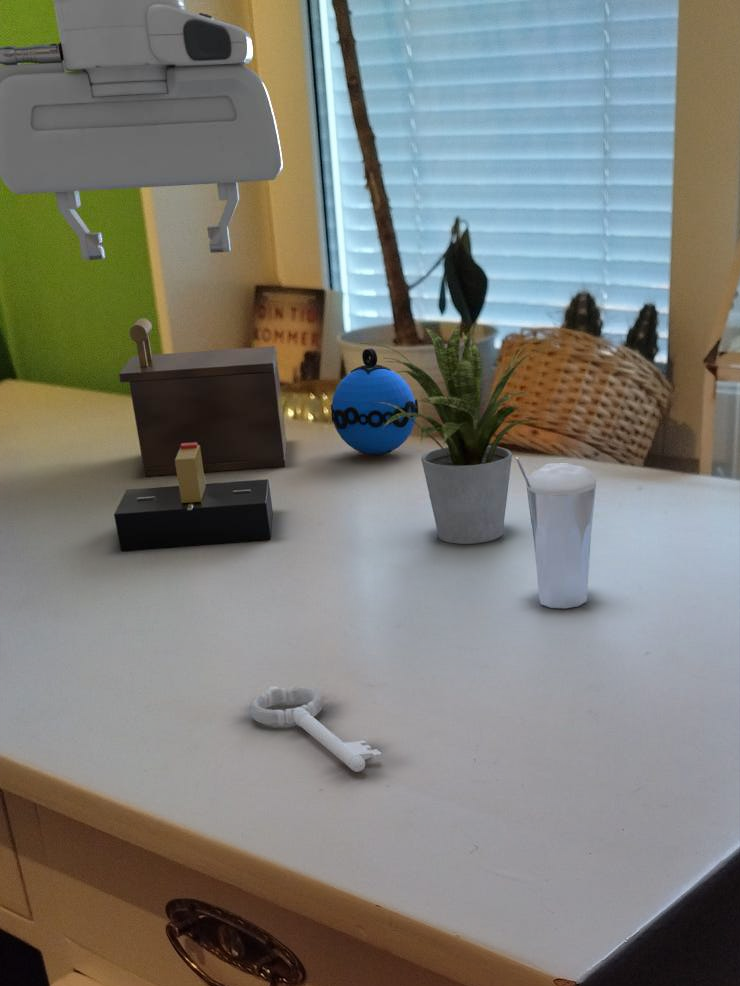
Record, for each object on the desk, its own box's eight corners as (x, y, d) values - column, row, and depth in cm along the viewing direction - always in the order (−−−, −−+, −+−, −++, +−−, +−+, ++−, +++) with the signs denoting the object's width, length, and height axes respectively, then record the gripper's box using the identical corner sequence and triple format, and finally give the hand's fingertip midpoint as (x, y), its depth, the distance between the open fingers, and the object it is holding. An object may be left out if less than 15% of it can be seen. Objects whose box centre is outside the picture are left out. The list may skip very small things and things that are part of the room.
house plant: (344, 526, 109) (323, 315, 101) (491, 499, 114) (483, 297, 106) (416, 569, 98) (399, 336, 90) (576, 537, 103) (574, 314, 95)
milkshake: (508, 598, 91) (503, 451, 86) (579, 587, 92) (578, 441, 87) (534, 618, 87) (530, 465, 82) (607, 605, 89) (607, 454, 84)
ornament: (317, 456, 132) (306, 351, 127) (384, 441, 137) (376, 339, 132) (370, 469, 126) (361, 359, 121) (438, 452, 131) (432, 346, 126)
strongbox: (144, 476, 128) (128, 382, 123) (155, 452, 137) (141, 363, 133) (285, 466, 129) (274, 372, 124) (286, 443, 138) (276, 354, 134)
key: (304, 692, 77) (237, 708, 76) (303, 677, 77) (235, 692, 75) (397, 765, 68) (323, 785, 66) (396, 749, 68) (321, 768, 66)
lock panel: (119, 553, 105) (112, 514, 103) (133, 522, 113) (126, 485, 111) (270, 541, 106) (265, 502, 104) (273, 512, 114) (268, 475, 112)
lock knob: (201, 502, 106) (194, 454, 104) (181, 503, 106) (173, 456, 104) (206, 487, 110) (199, 441, 108) (186, 488, 110) (179, 442, 108)
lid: (120, 382, 123) (111, 330, 121) (133, 364, 133) (125, 315, 130) (274, 371, 124) (267, 319, 122) (276, 354, 134) (270, 305, 131)
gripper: (-37, 45, 89) (8, 268, 96) (267, 30, 90) (291, 251, 97) (-17, 49, 94) (25, 260, 101) (270, 36, 96) (292, 244, 103)
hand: (157, 255), depth 99 cm, fingers open, 8 cm apart
